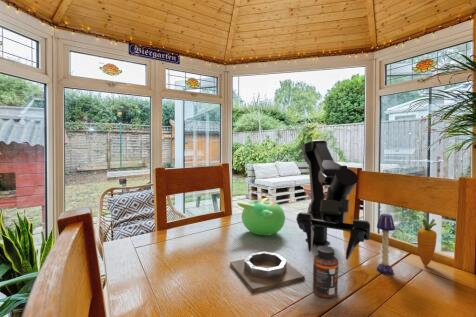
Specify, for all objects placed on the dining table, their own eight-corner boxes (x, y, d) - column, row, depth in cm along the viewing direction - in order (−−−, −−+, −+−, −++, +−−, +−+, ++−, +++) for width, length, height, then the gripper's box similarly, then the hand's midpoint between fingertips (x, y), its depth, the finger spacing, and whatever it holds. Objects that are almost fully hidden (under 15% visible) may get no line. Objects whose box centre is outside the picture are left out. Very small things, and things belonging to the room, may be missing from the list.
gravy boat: (290, 231, 111) (291, 197, 109) (273, 245, 96) (274, 206, 95) (253, 224, 120) (253, 192, 119) (232, 236, 106) (232, 200, 105)
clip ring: (272, 257, 85) (272, 249, 84) (293, 273, 74) (293, 265, 74) (239, 263, 80) (239, 255, 80) (256, 282, 70) (256, 273, 69)
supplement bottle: (339, 300, 63) (340, 255, 62) (313, 297, 64) (314, 253, 64) (335, 287, 69) (336, 245, 68) (312, 284, 70) (312, 243, 70)
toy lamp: (371, 268, 79) (373, 213, 78) (382, 265, 81) (384, 212, 80) (386, 275, 75) (388, 218, 74) (397, 272, 77) (399, 216, 75)
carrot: (432, 263, 82) (434, 216, 81) (438, 270, 77) (440, 221, 76) (413, 260, 84) (415, 214, 83) (418, 268, 79) (420, 219, 78)
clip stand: (274, 256, 88) (274, 253, 87) (304, 279, 73) (304, 276, 73) (230, 265, 81) (230, 261, 81) (252, 292, 67) (252, 288, 67)
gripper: (298, 184, 76) (285, 234, 67) (371, 190, 67) (367, 248, 58) (305, 205, 83) (294, 252, 74) (371, 213, 74) (368, 267, 65)
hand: (327, 254), depth 68 cm, fingers open, 9 cm apart
